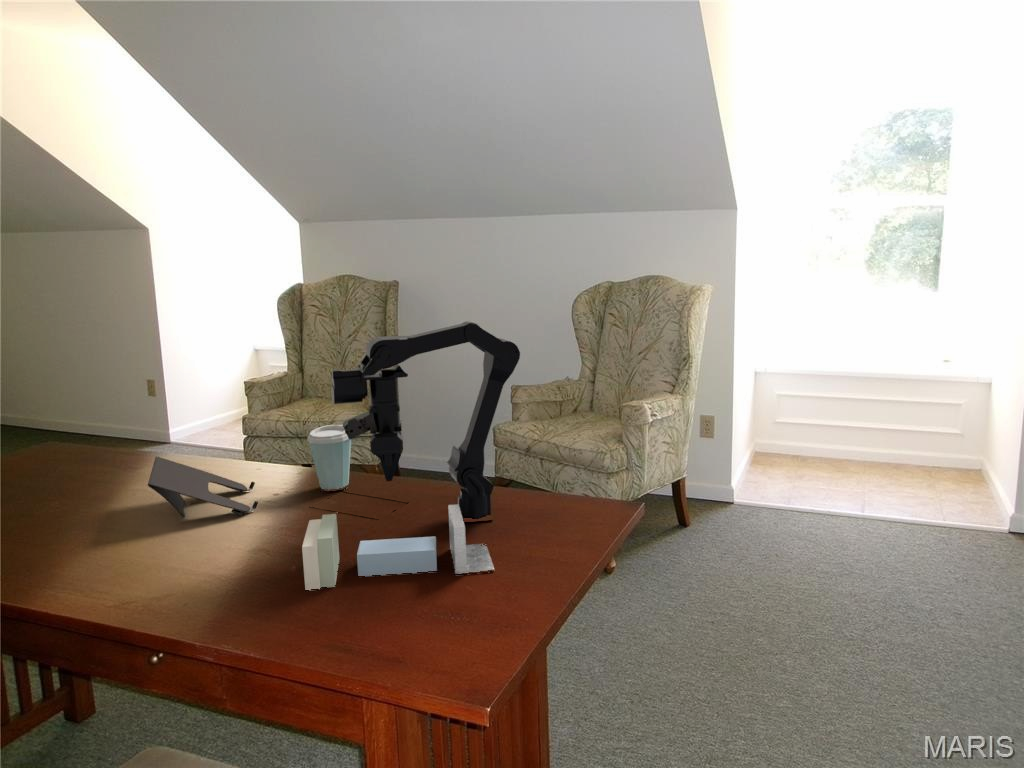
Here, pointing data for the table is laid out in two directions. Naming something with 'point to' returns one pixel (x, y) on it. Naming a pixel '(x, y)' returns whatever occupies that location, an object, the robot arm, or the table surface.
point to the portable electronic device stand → (192, 486)
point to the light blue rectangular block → (397, 556)
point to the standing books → (321, 553)
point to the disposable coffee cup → (331, 455)
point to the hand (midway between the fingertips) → (388, 474)
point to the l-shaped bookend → (465, 546)
